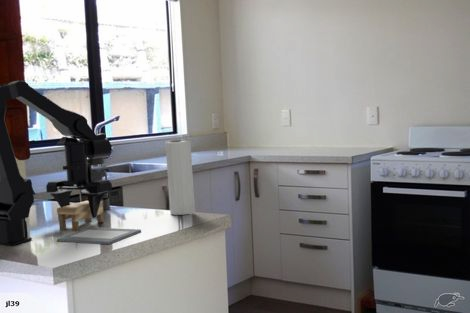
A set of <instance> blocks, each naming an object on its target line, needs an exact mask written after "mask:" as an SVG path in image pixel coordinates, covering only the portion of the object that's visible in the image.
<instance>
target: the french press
mask: <svg viewBox="0 0 470 313" xmlns="http://www.w3.org/2000/svg"><path fill="white" fill-rule="evenodd" d="M105 158H106V157H102V158H95V159H88V158H87V163H91V167H92V169H94V168H93V166H98V165H103V164H105ZM99 171H100V172H103V177H102V178H104V180H108V173H107V170H99ZM78 191H79V201H80V202H83V201H88V198H84V199H83V197H82V195H87V194H90V193H89V192H88V190H78ZM109 196H110V195H109V192H108V193H106V196H105V197H104V196H103V197H102V199H101V201H103V212H104V211H109V210H110V209H111V206H110V197H109Z"/></svg>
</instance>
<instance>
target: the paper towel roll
mask: <svg viewBox="0 0 470 313" xmlns="http://www.w3.org/2000/svg"><path fill="white" fill-rule="evenodd" d="M164 143H165V155H166V172H167V184H168V197H169V198H168V199H169V212H170V214H171V215H174V216H178V215H179V216H181V215H192V214H196V207H195V206H196V203H195V193H194V192H195V190H194V176H193V174H194V173H193V164H192V162H193V161H192V159H193V158H192V146H191V141H190V140H189V141H188V140H170V141H165V142H164Z"/></svg>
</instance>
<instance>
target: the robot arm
mask: <svg viewBox="0 0 470 313" xmlns="http://www.w3.org/2000/svg"><path fill="white" fill-rule="evenodd" d="M13 99H14V100H15V99H16V100H18V101H19V102H21V103H23V104H24V105H26V106H27V107H29V108H30V109H32V110H33V111H35V112H36V113H38V114H39V115H41V116H43V118H45V119H47V120H48V121H49V122H51V125H52V126H53V127H54V128H55V130H57V132H59V133H60V134H61V135H62V137H61V138H60V140H59V141H58V142H57V143H56V146H57V147H64V156H65V158H64V159H65V165H63V166H62V170H64V171H66V179H57V180H52V181H48V182H47V184H46V185H45V189H46V193H50V196H52V197H53V198H54V200H55V201H56V202H57V204H58V206H59V208H60V207H64V206H68V205H71V200H70V197H71V194H72V192H73V190H74V191H75V190H76V191H77V190H78V191H79V190H81V191H82V190H88V192H89V193H90V194H86V196H87V199H88V202H89V206H90V210H91V214H92V217H91V218H93V219H94V218H95V219H97V213H98V209H99V205H100V202H101V199H102V197H104V196H105V194H106V193H108V194H109V191H112V190H113V185H112V181H110V180H109V179H107V180H105V179H103V178H104V177H103V172H100V171H101V170H96V169H94V168H93V169H92V167H93V166H92V167H91V163H87V158H88V159H95V158H102V157H105V158H108V157H109V156H110V155H111V154H112V148H113V146H112V144H111V141H110V140H109V138H108V137H107V134H106V133H97V134H96V133H95V132H94V130H93V129H92V128H91V126H90V125H89V123H88V120H87V118H86V117H85V116H84V115H81V114H80V113H77V112H75V111H73V110H72V111H71V110H68V109H65V108H63V107H61V106H60V105H58V104H57V103H56V102H54V101H52V100H51V99H49V98H48V97H47V96H45V95H44V94H42V93H41V92H39V91H38V90H36V89H35V88H34V87H32V86H30V85H29V84H28V82H26V81H25V80H15V81H11V82H9V83H4V84H0V245H1V246H15V245H18V244H22V243H25V242H29V241H31V240H32V239H33V238H32V237H29V235H28V234H29V233H28V223H27V220H26V219H27V218H29V217H30V212H31V208H32V206H33V204H34V202H35V197H34V195H36V192H35V190H34V188H33V183H32V180H31V179H30V178H24V177H23V176H22V175H21V173H20V169H19V166H18V163H17V160H16V156H15V151H14V148H13V144H12V142H11V138H10V135H9V131H8V128H7V124H6V119H5V117H6V111H7V101H9V100H13ZM69 137H71V138H69Z"/></svg>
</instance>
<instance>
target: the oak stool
mask: <svg viewBox="0 0 470 313" xmlns="http://www.w3.org/2000/svg"><path fill="white" fill-rule="evenodd" d="M56 213H57V219H58V220H57V221H58V223H59V224H58V225H59V231H66V230H67V222H66V220H68V219H71V227H72V232H78V231H80V224H79V222H80V221H84V222H85V223H91V222H92V218H93V217H92V214H91V210H90V206H89V202H88V201H83V202H76V203H72V204H70V205H68V206H64V207H60V206H59V207H58V208H56ZM96 220H97V223H98V222H99V223H98V224H102V223H104V211H103V201H101V202H100V205H99V209H98V213H97V216H96ZM90 221H91V222H90ZM101 222H102V223H101ZM77 230H78V231H77Z"/></svg>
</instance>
